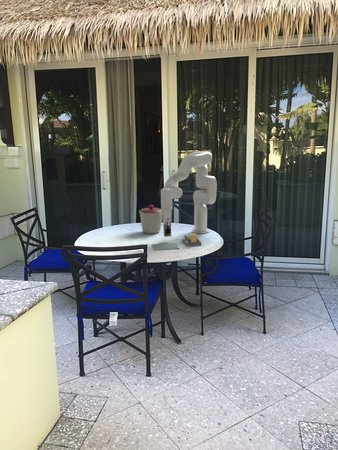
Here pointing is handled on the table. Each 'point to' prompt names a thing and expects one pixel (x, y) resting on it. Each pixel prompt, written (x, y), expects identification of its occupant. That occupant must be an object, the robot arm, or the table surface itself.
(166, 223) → the brown rectangular block
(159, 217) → the canister
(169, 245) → the tool mat
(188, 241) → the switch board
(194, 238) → the tan orange cube block
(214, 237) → the table surface
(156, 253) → the table surface
